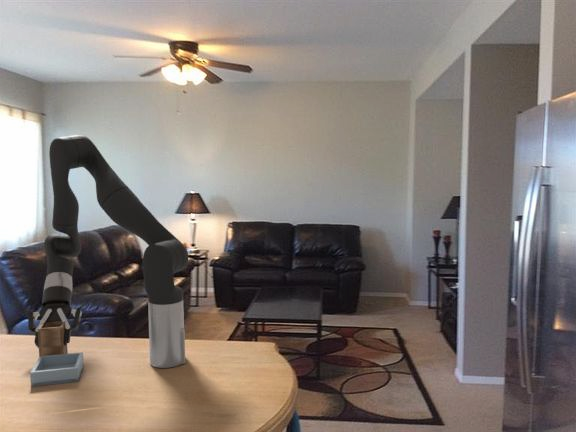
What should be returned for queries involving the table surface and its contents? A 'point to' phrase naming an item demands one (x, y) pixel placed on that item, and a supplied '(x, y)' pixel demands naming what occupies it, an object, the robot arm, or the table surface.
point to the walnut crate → (51, 339)
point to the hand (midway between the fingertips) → (52, 345)
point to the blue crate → (57, 369)
